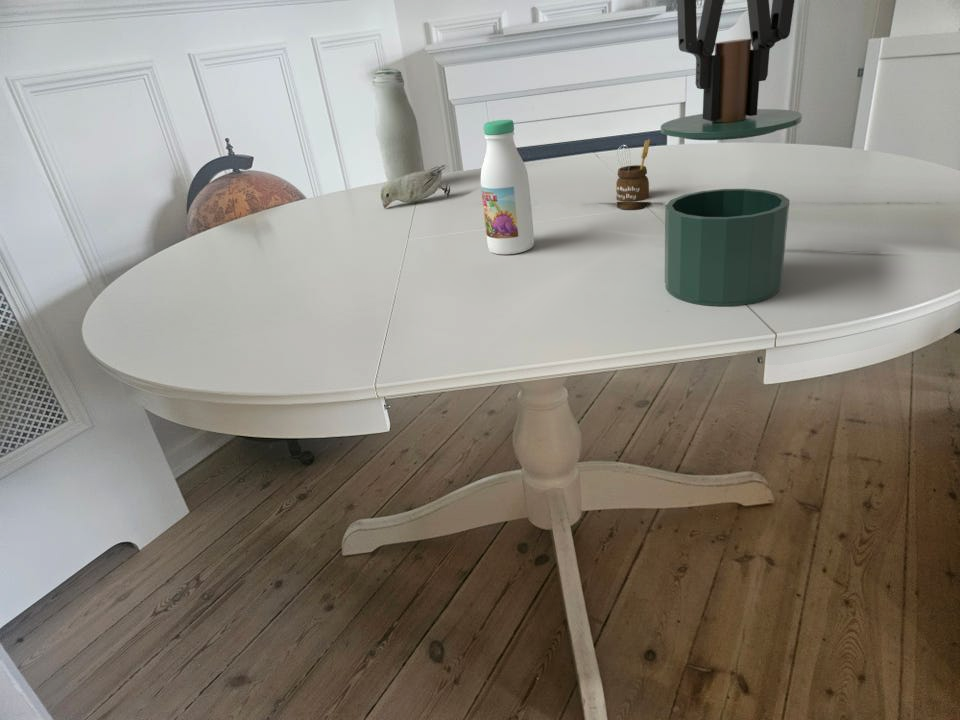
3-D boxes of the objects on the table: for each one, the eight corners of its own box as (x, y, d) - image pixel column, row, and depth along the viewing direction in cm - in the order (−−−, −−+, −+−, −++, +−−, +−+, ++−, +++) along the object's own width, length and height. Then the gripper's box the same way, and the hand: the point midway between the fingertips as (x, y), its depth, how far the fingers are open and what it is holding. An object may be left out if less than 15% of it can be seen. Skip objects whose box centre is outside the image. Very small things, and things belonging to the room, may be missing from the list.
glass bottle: (428, 183, 163) (410, 64, 150) (425, 191, 154) (404, 66, 141) (391, 187, 164) (369, 70, 151) (385, 196, 155) (361, 72, 142)
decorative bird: (381, 206, 145) (375, 173, 142) (449, 194, 148) (444, 161, 145) (384, 211, 141) (378, 177, 137) (454, 198, 144) (449, 165, 140)
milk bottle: (514, 238, 109) (502, 116, 100) (544, 245, 104) (533, 117, 95) (479, 250, 106) (463, 125, 97) (507, 258, 100) (493, 126, 91)
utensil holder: (627, 201, 122) (625, 136, 117) (656, 203, 118) (656, 136, 113) (610, 209, 118) (608, 142, 113) (640, 211, 114) (639, 143, 109)
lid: (806, 116, 74) (815, 28, 69) (794, 140, 62) (804, 36, 58) (676, 123, 81) (678, 44, 76) (645, 146, 69) (645, 54, 65)
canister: (785, 269, 82) (794, 187, 77) (773, 310, 71) (782, 219, 67) (678, 264, 88) (680, 189, 83) (653, 301, 78) (653, 218, 73)
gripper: (811, -145, 63) (788, 103, 74) (645, -121, 64) (646, 123, 74) (852, -167, 57) (820, 110, 67) (667, -140, 57) (664, 131, 68)
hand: (729, 116), depth 71 cm, fingers closed on lid, 4 cm apart
